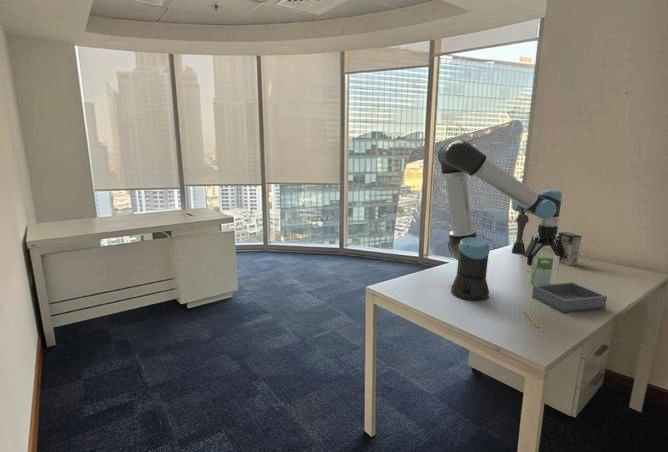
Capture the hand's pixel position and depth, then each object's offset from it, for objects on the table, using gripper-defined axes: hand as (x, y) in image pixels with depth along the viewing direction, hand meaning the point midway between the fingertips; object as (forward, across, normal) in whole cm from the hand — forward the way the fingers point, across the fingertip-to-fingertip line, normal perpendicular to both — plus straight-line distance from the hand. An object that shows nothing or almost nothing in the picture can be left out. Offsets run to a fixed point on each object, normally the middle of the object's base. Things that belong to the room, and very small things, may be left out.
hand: (542, 270), depth 171 cm
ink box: (+7, 0, 0) cm, 7 cm away
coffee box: (+8, +40, +26) cm, 49 cm away
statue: (+7, +29, +49) cm, 57 cm away
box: (+7, -4, -19) cm, 21 cm away
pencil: (+7, -31, -29) cm, 43 cm away
